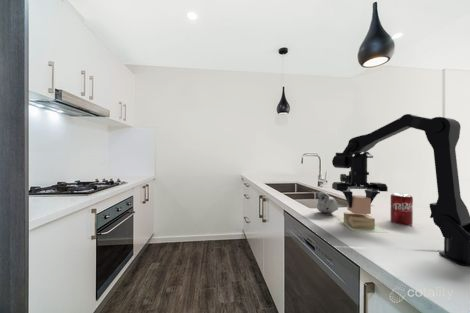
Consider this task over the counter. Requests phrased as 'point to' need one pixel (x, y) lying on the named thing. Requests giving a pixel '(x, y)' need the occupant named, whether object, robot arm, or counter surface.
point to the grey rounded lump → (326, 203)
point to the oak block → (359, 221)
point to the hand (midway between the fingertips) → (358, 208)
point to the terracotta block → (360, 205)
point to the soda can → (401, 209)
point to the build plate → (377, 229)
